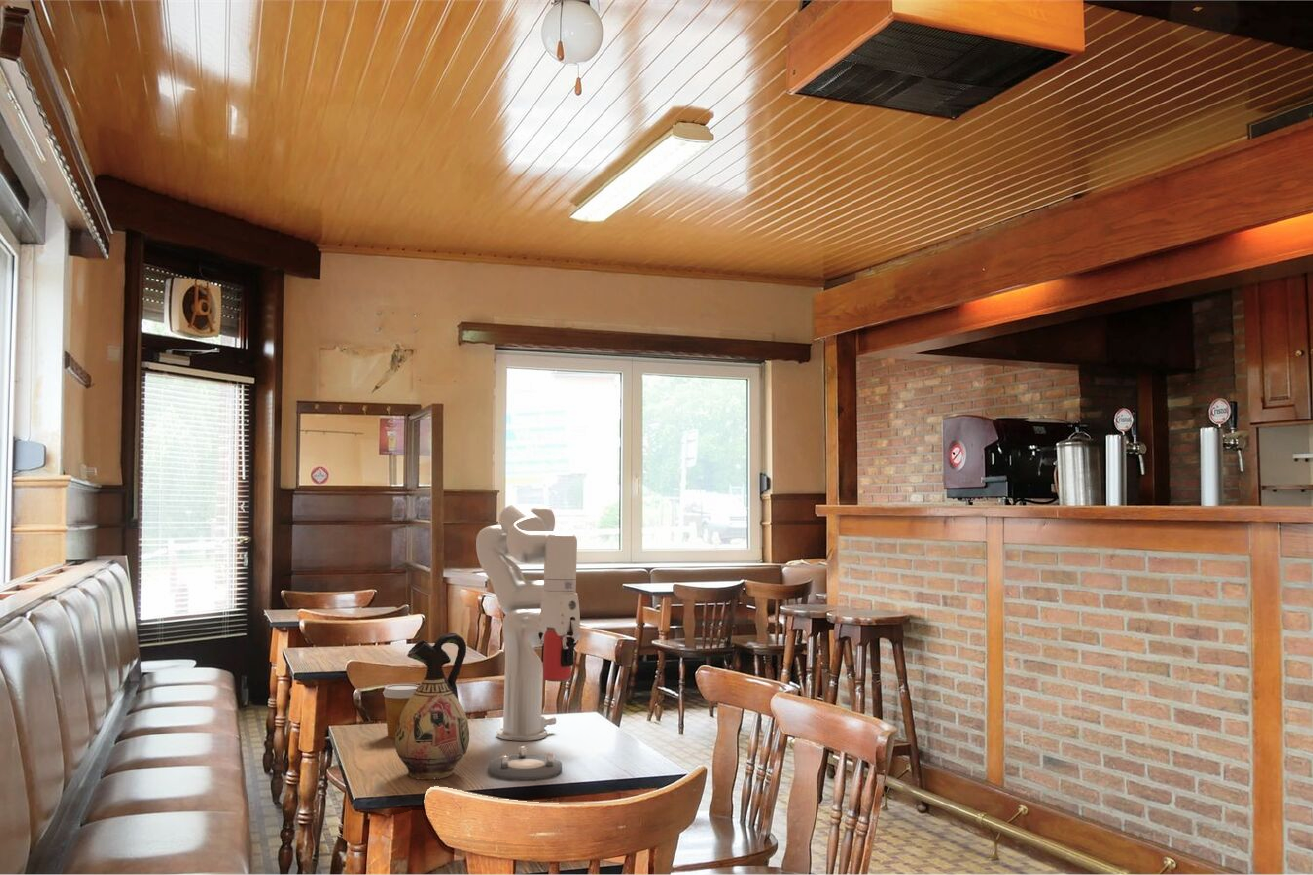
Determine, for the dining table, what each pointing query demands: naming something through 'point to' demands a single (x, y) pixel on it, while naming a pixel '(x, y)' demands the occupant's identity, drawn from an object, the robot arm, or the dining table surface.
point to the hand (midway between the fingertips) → (557, 663)
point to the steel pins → (522, 756)
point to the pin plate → (525, 768)
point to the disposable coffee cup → (396, 704)
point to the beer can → (554, 658)
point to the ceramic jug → (434, 715)
